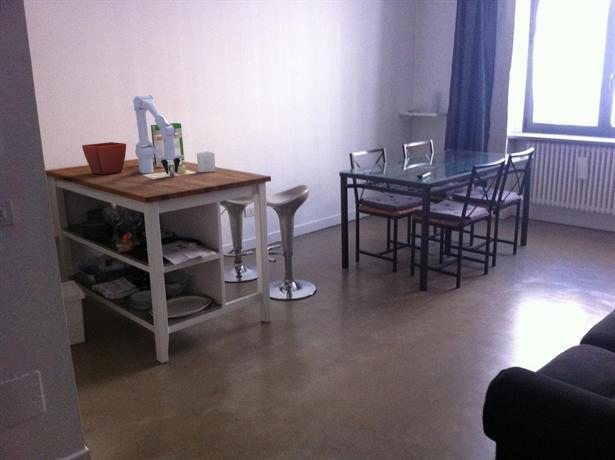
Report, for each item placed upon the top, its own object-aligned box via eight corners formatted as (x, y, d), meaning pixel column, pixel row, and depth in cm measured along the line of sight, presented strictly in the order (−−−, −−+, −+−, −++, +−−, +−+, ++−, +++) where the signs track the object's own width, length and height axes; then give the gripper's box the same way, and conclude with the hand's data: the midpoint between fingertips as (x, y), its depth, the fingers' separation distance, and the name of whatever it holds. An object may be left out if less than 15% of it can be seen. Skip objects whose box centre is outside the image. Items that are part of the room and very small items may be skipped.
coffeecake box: (174, 163, 383) (171, 132, 378) (182, 164, 379) (179, 132, 374) (156, 167, 371) (152, 135, 366) (163, 167, 367) (160, 135, 362)
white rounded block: (213, 170, 348) (211, 149, 345) (216, 171, 345) (215, 149, 342) (197, 172, 343) (195, 151, 339) (200, 173, 339) (198, 151, 336)
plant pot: (114, 169, 369) (111, 141, 364) (130, 172, 355) (126, 143, 351) (84, 173, 356) (80, 145, 351) (99, 176, 342) (95, 147, 338)
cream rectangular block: (169, 172, 341) (169, 166, 340) (183, 171, 345) (182, 164, 344) (173, 173, 337) (172, 167, 336) (186, 172, 341) (185, 165, 340)
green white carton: (158, 163, 385) (155, 125, 379) (154, 162, 391) (150, 125, 385) (184, 160, 395) (181, 123, 389) (179, 159, 401) (176, 122, 395)
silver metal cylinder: (168, 175, 332) (167, 164, 331) (173, 174, 334) (172, 164, 332) (170, 176, 330) (169, 165, 328) (175, 175, 331) (174, 164, 330)
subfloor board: (141, 176, 338) (141, 174, 338) (185, 170, 352) (185, 169, 351) (153, 180, 323) (152, 178, 323) (197, 174, 337) (197, 172, 337)
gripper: (159, 150, 321) (161, 175, 324) (184, 147, 329) (186, 172, 332) (154, 149, 327) (157, 173, 330) (179, 146, 334) (182, 170, 338)
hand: (171, 172), depth 331 cm, fingers open, 5 cm apart
